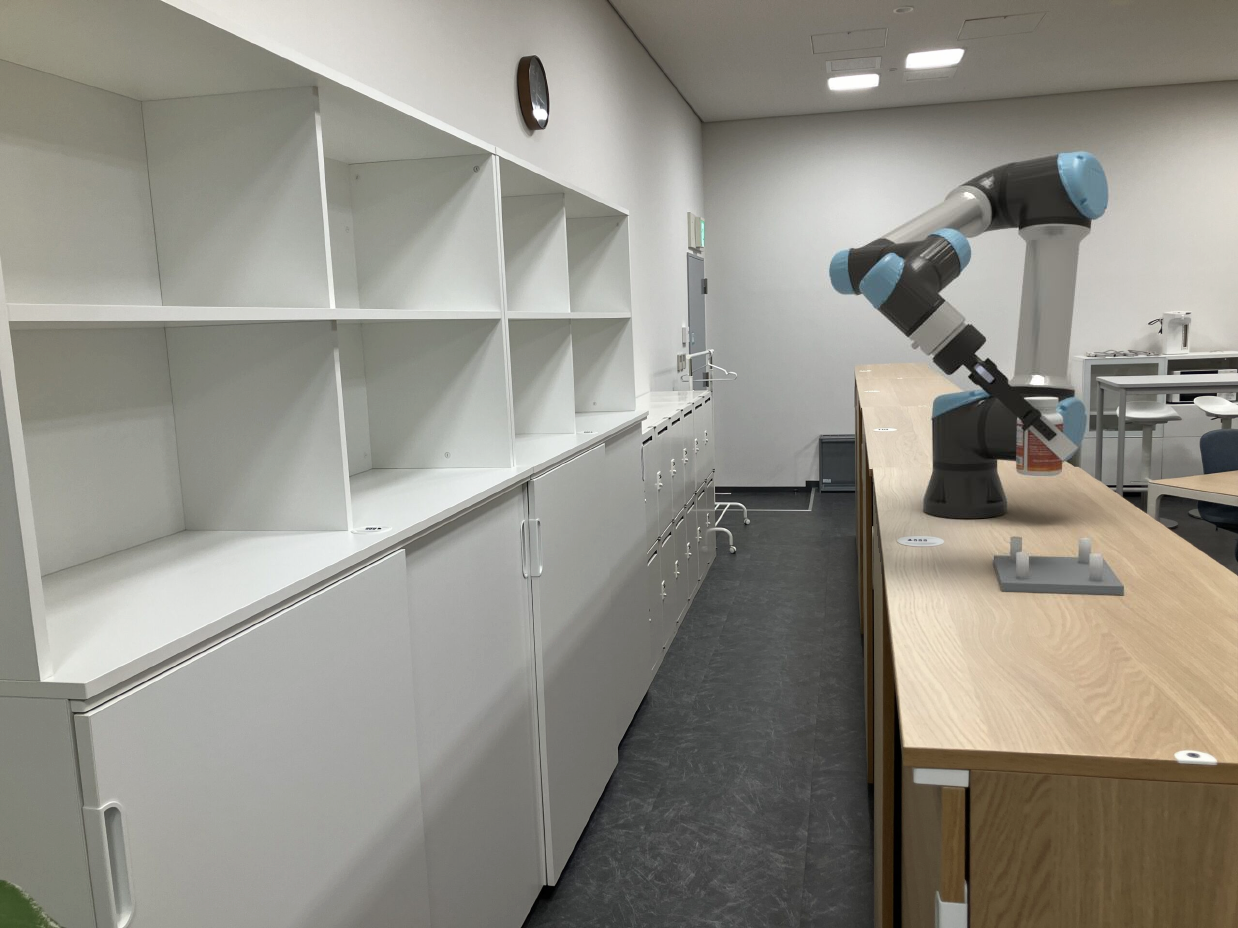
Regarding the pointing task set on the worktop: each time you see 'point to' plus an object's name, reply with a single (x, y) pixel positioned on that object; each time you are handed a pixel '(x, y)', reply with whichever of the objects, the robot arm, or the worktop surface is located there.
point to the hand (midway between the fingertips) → (1066, 450)
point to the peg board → (1056, 572)
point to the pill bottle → (1038, 442)
